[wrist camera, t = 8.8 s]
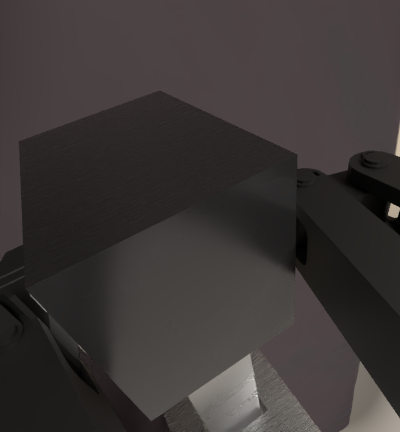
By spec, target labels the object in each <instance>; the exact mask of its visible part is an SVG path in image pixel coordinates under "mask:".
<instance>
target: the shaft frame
mask: <svg viewBox="0 0 400 432" xmlns="http://www.w3.org/2000/svg"><path fill="white" fill-rule="evenodd" d="M250 356H251V361H252V367H253V372H254V377H255V383H256V388H257V393H258V399H259V404H260V409H261V416H260V417H259V418H257V419H256V420H255V421H254V422H252V423H251V424H250V425H248V426H247V427H246V428H244V429H243V430H242V431H240V432H321V431H320V430H319V429H318V427H317V426H316V425H315V423H314V422H313V421H312V419H311V418H310V417H309V415H308V414H307V413H306V411H305V410H304V409H303V407H302V406H301V405H300V403H299V402H298V401H297V399H296V398H295V397H294V395H293V394H292V393H291V391H290V390H289V389H288V387H287V386H286V385H285V383H284V382H283V381H282V379H281V378H280V377H279V375H278V374H277V373H276V371H275V370H274V369H273V367H272V366H271V365H270V363H269V362H268V361H267V359H266V358H265V357H264V355H263V354H262V353H261V351H260V350H259V349H258V348H257V349H256V350H254V351H253V352H251V353H250ZM163 414H164V417H165V419H166V422H167V425H168V427H169V430H170V432H209V430H208V428H207V427H206V425H205V423H204V422H203V420H202V418H201V417H200V415H199V413H198V412H197V410H196V408H195V407H194V405H193V403H192V402H191V400H190V398H189V396H187V397H186V398H184V399H183V400H181V401H180V402H179V403H177V404H176V405H174V406H173V407H171V408H170V409H168V410H167V411H165V412H164V413H163Z"/></svg>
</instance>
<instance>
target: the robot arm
mask: <svg viewBox="0 0 400 432" xmlns="http://www.w3.org/2000/svg"><path fill="white" fill-rule="evenodd" d="M391 203H392V204H394V205H396V206H398V207H400V157H398V156H395V155H393V154H389V153H385V152H381V151H366V152H361V153H358V154H355V155H354V156H353V157H351V158H350V161H349V166H348V170H347V171H343V172H339V173H335V174H331V175H326V174H324V173H322V172H321V171H319V170H315V169H308V168H301V169H297V200H296V257H295V266H296V268H297V269H298V271H299V272H300V274H301V275H302V276H303V278H304V279H305V281H306V282H307V284H308V285H309V287H310V288H311V290H312V291H313V292H314V294H315V295H316V297H317V298H318V300H319V301H320V303H321V304H322V306H323V307H324V308H325V310H326V311H327V313H328V314H329V316H330V317H331V319H332V320H333V322H334V323H335V324H336V326H337V327H338V329H339V330H340V332H341V333H342V335H343V336H344V338H345V339H346V340H347V342H348V343H349V345H350V346H351V348H352V349H353V351H354V352H355V354H356V355H357V356H358V358H359V359H360V361H361V362H362V364H363V365H364V367H365V368H366V370H367V371H368V372H369V374H370V375H371V377H372V378H373V379H374V381H375V383H376V384H377V386H378V387H379V388H380V390H381V391H382V393H383V394H384V396H385V397H386V399H387V400H388V402H389V403H390V404H391V406H392V407H393V409H394V410H395V412H396V413H397V415H398V416H399V418H400V212H399V215H398V217H397V218H393V217H390V216H388V212H389V208H390V204H391ZM77 345H78V344H77V343H76V342H75V341H74V340H73V339H72V338H71V337H70V335H69V334H68V333H67V332H66V331H65V330H64V329H63V328H62V327H61V326H60V325H59V324H58V323H57V322H56V321H55V320H54V319H53V318H52V317H51V316H50V315H49V313H48V312H47V311H46V310H45V309H44V308H43V307H42V306H41V305H40V304H39V303H38V302H37V301H36V300H35V299H34V298H33V297H32V296H31V295H30V294H29V292H28V291H27V290H26V289H25V276H24V251H23V245H21V246H19V247H17V248H15V249H13V250H10V251H8V252H6V253H5V255H4V257H3V259H2V260H1V262H0V432H127V431H126V429H125V428H124V426H123V424H122V423H121V421H120V420H119V418H118V416H117V415H116V413H115V411H114V410H113V408H112V406H111V405H110V403H109V401H108V400H107V398H106V396H105V395H104V393H103V391H102V390H101V388H100V387H99V385H98V383H97V382H96V380H95V378H94V377H93V375H92V373H91V372H90V370H89V368H88V367H87V366H86V365H85V364H84V363H83V362H82V361H81V360H80V357H79V352H78V347H77ZM78 346H79V345H78ZM79 347H80V346H79ZM80 348H81V347H80ZM81 349H82V348H81ZM82 350H83V349H82ZM83 351H84V350H83ZM84 352H85V351H84ZM85 353H86V352H85Z"/></svg>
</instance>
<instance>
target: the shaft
mask: <svg viewBox="0 0 400 432" xmlns="http://www.w3.org/2000/svg"><path fill="white" fill-rule="evenodd" d="M19 152H20V177H21V201H22V226H23V251H24V276H25V289H26V290H27V291H28V292H29V294H30V295H31V296H32V297H33V298H34V299H35V300H36V301H37V302H38V303H39V304H40V305H41V306H42V307H43V308H44V309H45V310H46V311H47V312H48V313H49V315H50V316H51V317H52V318H53V319H54V320H55V321H56V322H57V323H58V324H59V325H60V326H61V327H62V328H63V329H64V330H65V331H66V332H67V333H68V334H69V335H70V337H71V338H72V339H73V340H74V341H75V342H76V343H77V344H78V345H79V346H80V347H81V348H82V349H83V350H84V351H85V352H86V353H87V354H88V355H89V356H90V358H91V359H92V360H93V361H94V362H95V363H96V364H97V365H98V366H99V367H100V368H101V369H102V370H103V371H104V372H105V373H106V374H107V375H108V376H109V377H110V379H111V380H112V381H113V382H114V383H115V384H116V385H117V386H118V387H119V388H120V389H121V390H122V391H123V392H124V393H125V394H126V395H127V396H128V397H129V398H130V399H131V401H132V402H133V403H134V404H135V405H136V406H137V407H138V408H139V409H140V410H141V411H142V412H143V413H144V414H145V415H146V416H147V417H148V418H149V419H150V420H151V421H152V420H154V419H155V418H157V417H158V416H160V415H161V414H163V413H164V412H165V411H167V410H168V409H170V408H171V407H173V406H174V405H176V404H177V403H179V402H180V401H181V400H183V399H184V398H186V397H187V396H189V398H190V400H191V402H192V403H193V405H194V407H195V408H196V410H197V412H198V413H199V415H200V417H201V418H202V420H203V422H204V423H205V425H206V427H207V428H208V430H209V432H240V431H242V430H243V429H244V428H246V427H247V426H248V425H250V424H251V423H252V422H254V421H255V420H256V419H257V418H259V417H260V416H261V409H260V404H259V399H258V393H257V388H256V383H255V377H254V372H253V367H252V361H251V356H250V353H251V352H253V351H254V350H256V349H257V348H259V347H260V346H262V345H263V344H265V343H266V342H267V341H269V340H270V339H272V338H273V337H275V336H276V335H278V334H279V333H281V332H282V331H284V330H285V329H286V328H288V327H289V326H291V325H292V324H294V314H295V257H296V200H297V154H295V153H293V152H291V151H289V150H286V149H284V148H282V147H280V146H278V145H276V144H273V143H271V142H269V141H267V140H265V139H263V138H261V137H258V136H256V135H254V134H252V133H250V132H248V131H245V130H243V129H241V128H239V127H237V126H235V125H233V124H230V123H228V122H226V121H224V120H222V119H220V118H217V117H215V116H213V115H211V114H209V113H207V112H205V111H202V110H200V109H198V108H196V107H194V106H192V105H189V104H187V103H185V102H183V101H181V100H179V99H177V98H174V97H172V96H170V95H168V94H166V93H164V92H161V91H157V92H154V93H152V94H149V95H146V96H143V97H141V98H138V99H135V100H132V101H129V102H127V103H124V104H121V105H118V106H116V107H113V108H110V109H107V110H105V111H102V112H99V113H96V114H94V115H91V116H88V117H85V118H82V119H80V120H77V121H74V122H71V123H69V124H66V125H63V126H60V127H58V128H55V129H52V130H49V131H46V132H44V133H41V134H38V135H35V136H33V137H30V138H27V139H24V140H22V141H19Z"/></svg>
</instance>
